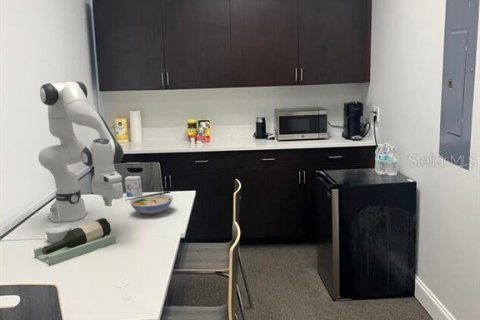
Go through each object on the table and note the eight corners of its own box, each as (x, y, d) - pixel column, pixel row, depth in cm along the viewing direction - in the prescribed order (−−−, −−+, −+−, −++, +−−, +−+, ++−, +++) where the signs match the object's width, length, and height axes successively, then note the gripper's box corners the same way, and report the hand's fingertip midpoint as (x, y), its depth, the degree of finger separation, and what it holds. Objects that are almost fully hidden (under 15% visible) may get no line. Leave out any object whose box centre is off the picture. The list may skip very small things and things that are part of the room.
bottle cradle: (34, 257, 196) (33, 249, 195) (99, 236, 218) (98, 229, 217) (50, 265, 187) (49, 257, 186) (116, 242, 208) (115, 235, 208)
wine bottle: (111, 222, 210) (49, 247, 187) (110, 238, 213) (49, 265, 191) (100, 214, 214) (37, 238, 192) (99, 230, 218) (38, 255, 195)
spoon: (119, 302, 154) (119, 301, 154) (112, 281, 170) (112, 279, 170) (135, 299, 156) (135, 297, 156) (127, 278, 172) (127, 276, 172)
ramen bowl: (135, 222, 235) (133, 207, 233) (123, 211, 255) (122, 197, 253) (182, 213, 246) (181, 198, 244) (168, 203, 266) (166, 189, 264)
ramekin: (66, 233, 224) (65, 223, 223) (77, 238, 216) (75, 227, 215) (42, 240, 217) (41, 229, 216) (53, 245, 209) (51, 234, 208)
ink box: (126, 197, 285) (124, 177, 283) (129, 194, 290) (127, 175, 288) (139, 196, 284) (137, 177, 282) (142, 194, 289) (140, 175, 286)
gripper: (86, 174, 214) (89, 204, 216) (111, 179, 200) (114, 211, 203) (98, 171, 218) (102, 200, 221) (124, 176, 204) (127, 207, 207)
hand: (108, 205), depth 212 cm, fingers closed
